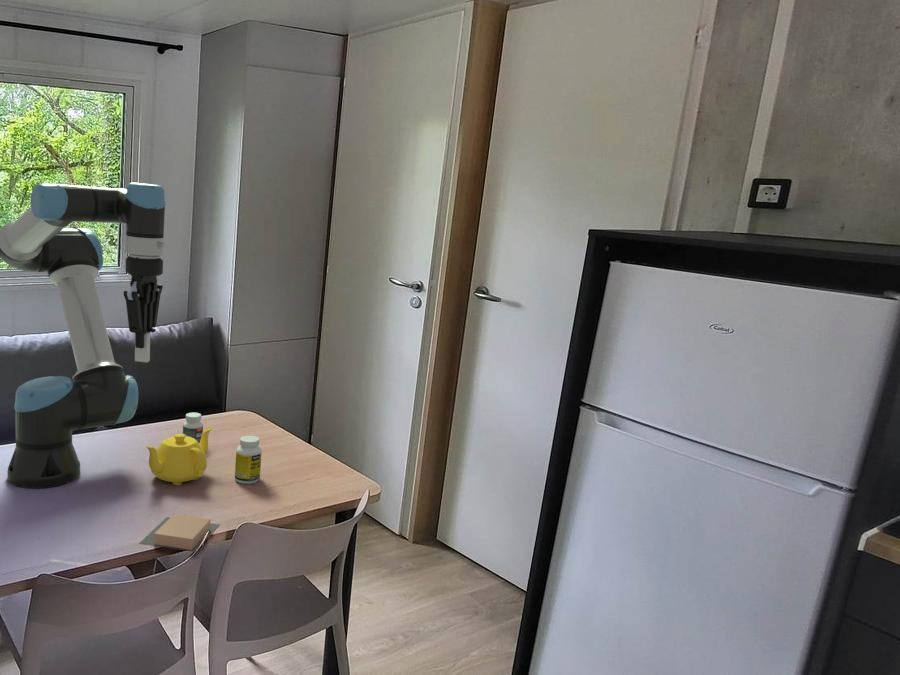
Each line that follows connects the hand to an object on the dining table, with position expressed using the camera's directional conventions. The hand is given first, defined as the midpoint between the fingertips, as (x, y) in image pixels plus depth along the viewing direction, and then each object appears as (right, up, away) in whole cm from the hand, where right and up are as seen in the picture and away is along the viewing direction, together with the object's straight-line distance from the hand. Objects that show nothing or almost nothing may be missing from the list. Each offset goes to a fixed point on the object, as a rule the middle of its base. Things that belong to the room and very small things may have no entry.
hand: (142, 360), depth 159 cm
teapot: (+2, -30, +17) cm, 35 cm away
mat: (+12, -37, -9) cm, 40 cm away
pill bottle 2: (+18, -31, +21) cm, 41 cm away
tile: (+13, -34, -6) cm, 37 cm away
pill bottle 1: (-3, -25, +39) cm, 46 cm away
